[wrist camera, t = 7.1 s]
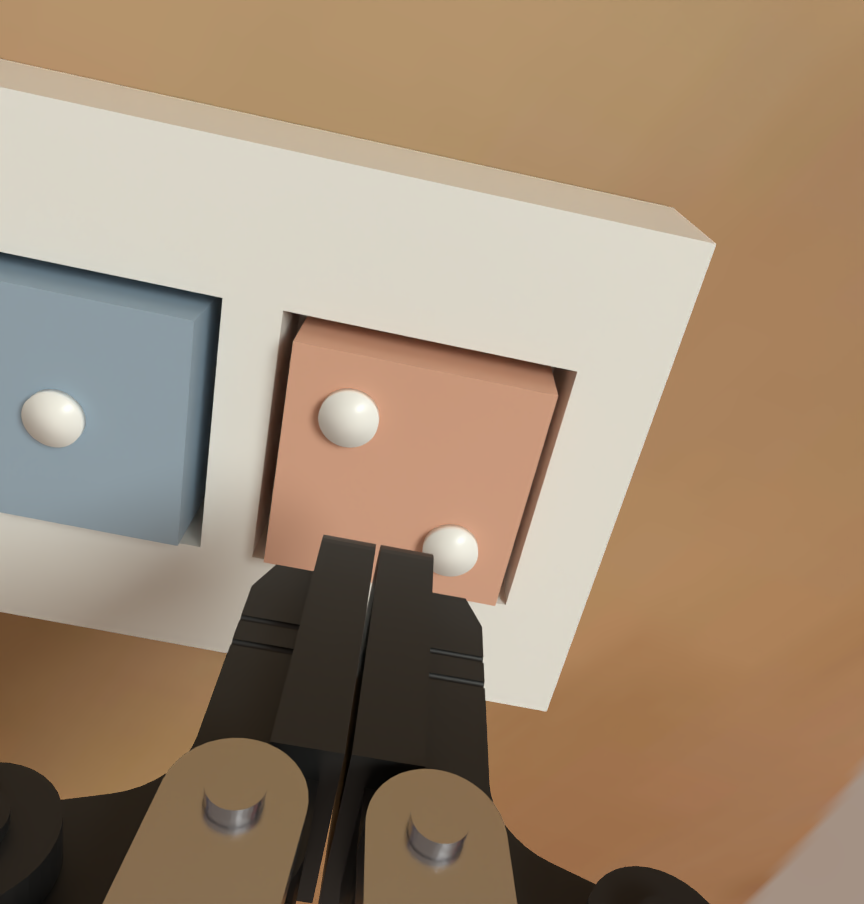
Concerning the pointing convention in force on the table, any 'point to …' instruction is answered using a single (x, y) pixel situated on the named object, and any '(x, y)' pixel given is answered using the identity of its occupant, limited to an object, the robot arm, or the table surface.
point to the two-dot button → (407, 452)
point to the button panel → (347, 301)
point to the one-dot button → (104, 399)
